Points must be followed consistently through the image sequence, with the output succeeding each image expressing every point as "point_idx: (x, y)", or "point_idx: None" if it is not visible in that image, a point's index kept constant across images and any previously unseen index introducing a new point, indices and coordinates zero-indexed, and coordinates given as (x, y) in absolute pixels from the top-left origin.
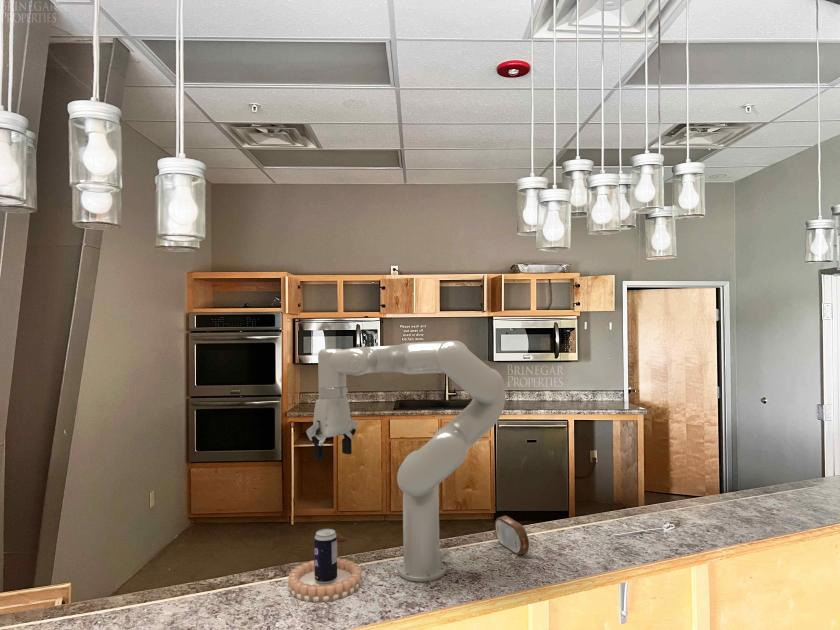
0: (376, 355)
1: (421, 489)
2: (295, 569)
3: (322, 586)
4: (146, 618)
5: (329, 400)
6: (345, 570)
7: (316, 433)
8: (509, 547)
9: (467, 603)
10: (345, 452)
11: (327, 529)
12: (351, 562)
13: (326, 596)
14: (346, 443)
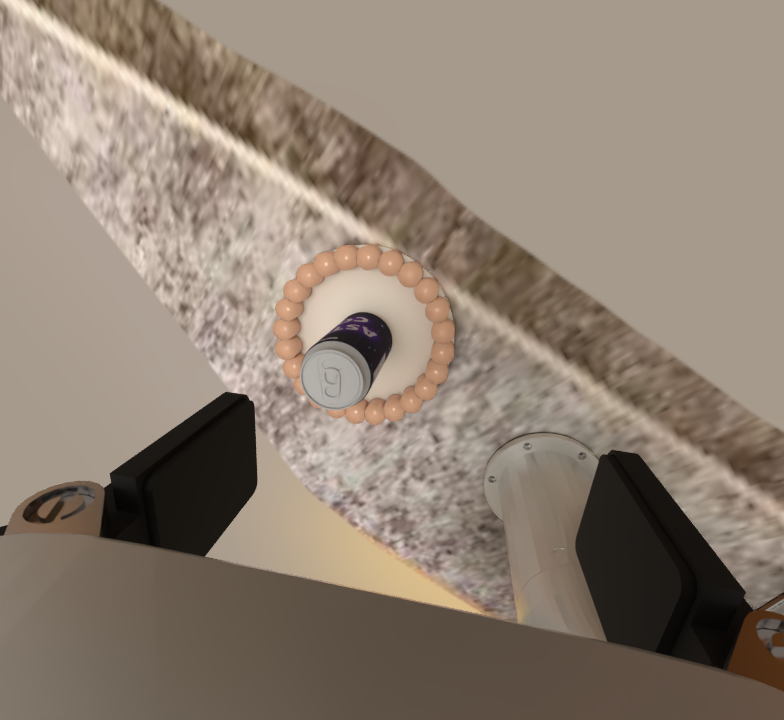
0: None
1: None
2: (327, 259)
3: None
4: (29, 109)
5: None
6: (433, 342)
7: (21, 552)
8: (773, 609)
9: (458, 597)
10: (593, 503)
11: (356, 365)
12: (444, 359)
13: None
14: (629, 613)
